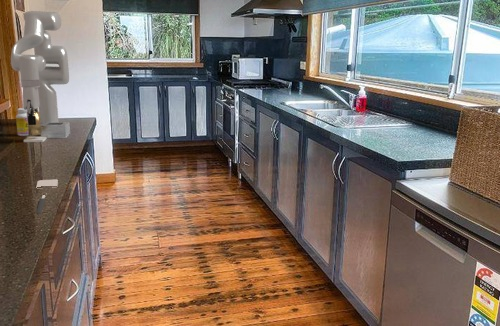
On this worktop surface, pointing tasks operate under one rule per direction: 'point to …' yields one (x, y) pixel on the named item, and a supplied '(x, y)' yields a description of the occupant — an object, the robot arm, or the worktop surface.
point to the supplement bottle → (22, 122)
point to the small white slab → (42, 200)
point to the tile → (35, 139)
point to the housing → (55, 129)
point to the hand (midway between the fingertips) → (34, 123)
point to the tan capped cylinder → (35, 128)
